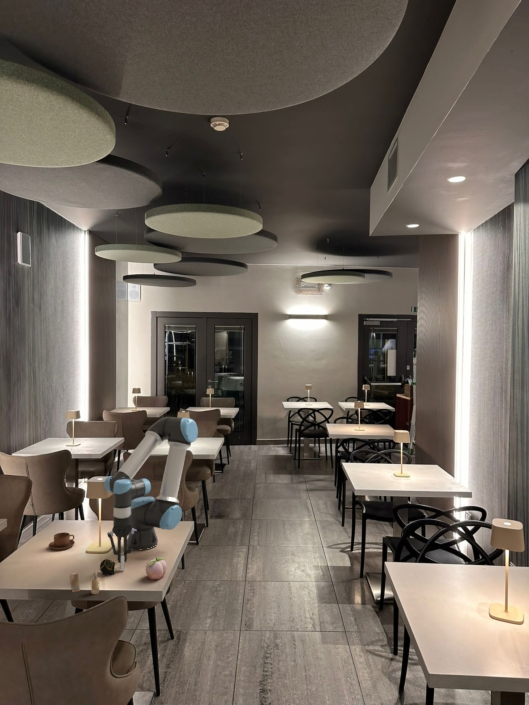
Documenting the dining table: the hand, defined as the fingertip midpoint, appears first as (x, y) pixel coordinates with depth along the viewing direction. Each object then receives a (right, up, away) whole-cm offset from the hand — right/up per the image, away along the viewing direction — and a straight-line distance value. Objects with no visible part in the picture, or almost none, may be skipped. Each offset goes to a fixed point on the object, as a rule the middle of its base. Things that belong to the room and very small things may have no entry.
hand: (122, 569), depth 239 cm
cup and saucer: (-38, -2, +31) cm, 49 cm away
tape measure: (-5, -2, -2) cm, 6 cm away
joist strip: (-16, -2, -12) cm, 20 cm away
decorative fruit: (+16, -2, -7) cm, 18 cm away
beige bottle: (-5, -2, -21) cm, 22 cm away
